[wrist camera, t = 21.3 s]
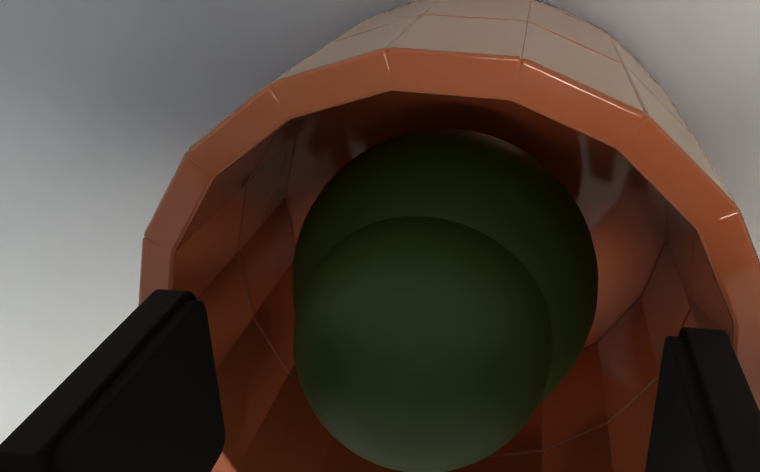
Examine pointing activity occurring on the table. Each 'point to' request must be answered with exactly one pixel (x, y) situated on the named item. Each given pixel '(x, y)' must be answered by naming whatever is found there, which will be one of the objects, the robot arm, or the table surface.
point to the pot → (488, 116)
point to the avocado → (439, 297)
